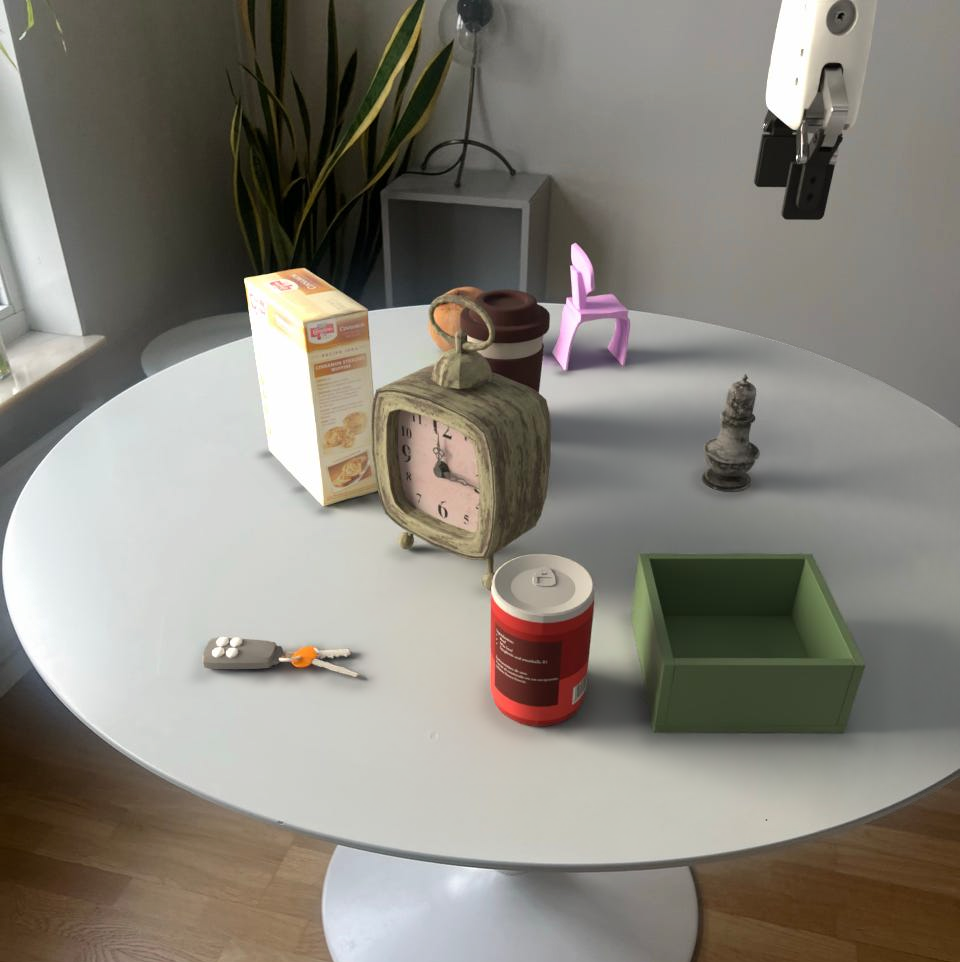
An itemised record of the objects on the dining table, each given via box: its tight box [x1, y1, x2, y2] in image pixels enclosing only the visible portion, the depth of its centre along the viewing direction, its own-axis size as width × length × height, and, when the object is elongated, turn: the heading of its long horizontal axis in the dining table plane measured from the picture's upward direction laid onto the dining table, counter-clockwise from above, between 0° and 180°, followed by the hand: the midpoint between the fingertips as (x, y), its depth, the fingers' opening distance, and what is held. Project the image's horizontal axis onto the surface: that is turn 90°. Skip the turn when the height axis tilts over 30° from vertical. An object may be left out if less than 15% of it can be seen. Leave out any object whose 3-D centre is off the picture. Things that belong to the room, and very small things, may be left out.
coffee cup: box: [460, 289, 551, 394], centre depth 110 cm, size 10×10×15 cm
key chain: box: [201, 636, 359, 678], centre depth 80 cm, size 13×4×2 cm, turn 87°
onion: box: [428, 286, 485, 353], centre depth 129 cm, size 10×9×10 cm
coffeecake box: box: [243, 267, 378, 507], centre depth 100 cm, size 15×7×20 cm, turn 32°
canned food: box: [489, 553, 596, 727], centre depth 74 cm, size 8×8×11 cm
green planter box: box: [630, 552, 866, 734], centre depth 77 cm, size 15×15×7 cm
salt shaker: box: [701, 373, 761, 493], centre depth 101 cm, size 6×6×12 cm
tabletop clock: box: [371, 293, 552, 591], centre depth 85 cm, size 14×9×25 cm, turn 50°
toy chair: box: [552, 242, 631, 371], centre depth 126 cm, size 8×9×15 cm
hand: (786, 201), depth 79 cm, fingers open, 9 cm apart
